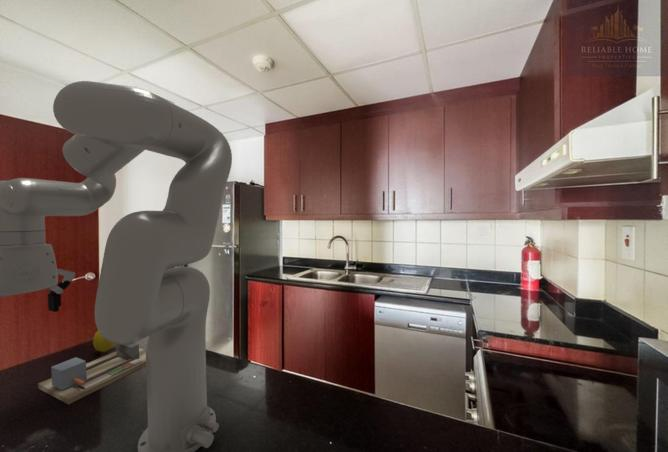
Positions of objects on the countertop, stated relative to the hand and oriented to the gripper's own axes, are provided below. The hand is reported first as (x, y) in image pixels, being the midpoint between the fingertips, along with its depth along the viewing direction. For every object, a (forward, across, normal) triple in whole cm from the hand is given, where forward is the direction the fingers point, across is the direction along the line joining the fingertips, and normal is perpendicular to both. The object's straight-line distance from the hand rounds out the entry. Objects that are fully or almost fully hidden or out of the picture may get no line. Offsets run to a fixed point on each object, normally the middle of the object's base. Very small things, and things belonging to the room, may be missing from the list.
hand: (22, 318), depth 56 cm
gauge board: (+19, +14, -1) cm, 24 cm away
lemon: (+20, +20, +11) cm, 30 cm away
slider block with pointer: (+18, +7, -3) cm, 19 cm away
